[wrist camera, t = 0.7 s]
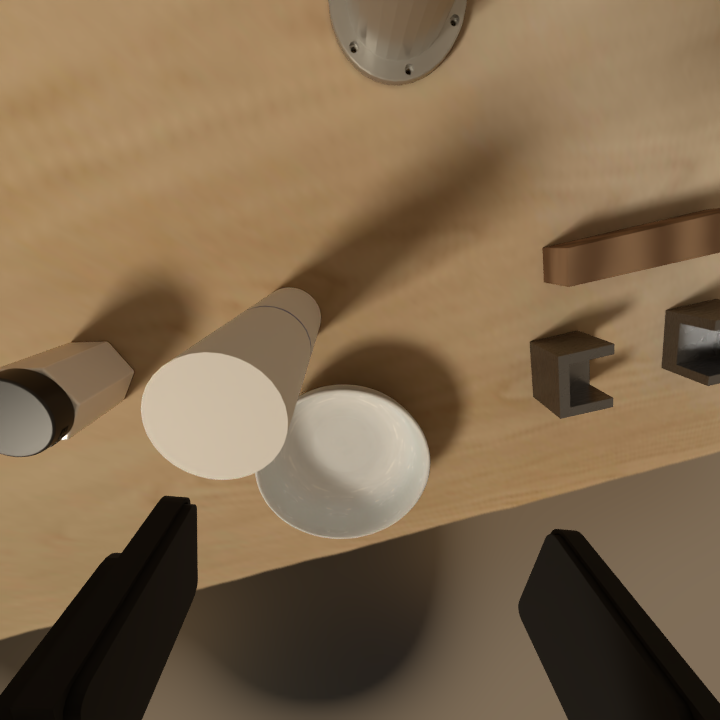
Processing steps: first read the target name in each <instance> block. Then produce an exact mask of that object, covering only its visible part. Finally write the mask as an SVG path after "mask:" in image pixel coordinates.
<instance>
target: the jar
mask: <svg viewBox="0 0 720 720" xmlns="http://www.w3.org/2000/svg"><path fill="white" fill-rule="evenodd" d="M133 374H134V370H133V369H132V368H131V367H130V366H129V365H128V363H127V362H126V361H125V360H124V359H123V358H122V357H121V356H120V355H119V353H118V352H117V351H116V350H115V349H114V348H113V347H112V346H111V345H110V343H109V342H72V343H67V344H64V345H61V346H58V347H56V348H53V349H50V350H47V351H44V352H42V353H39V354H36V355H33V356H30V357H28V358H25V359H22V360H19V361H16V362H14V363H11V364H8V365H5V366H2V367H0V454H3V455H7V456H13V457H27V456H32V455H36V454H38V453H41V452H43V451H44V450H46V449H47V448H49V447H52V446H53V445H55V444H56V443H57V442H59V441H60V440H68V439H70V438H71V437H73V436H74V435H75V434H77V433H78V432H80V431H81V430H82V429H84V428H85V427H87V426H88V425H90V424H91V423H92V422H94V421H95V420H97V419H98V418H99V417H101V416H102V415H104V414H105V413H107V412H108V411H109V410H111V409H112V408H114V407H115V406H116V405H118V404H119V403H121V402H122V401H123V400H124V399H125V396H126V393H127V390H128V388H129V385H130V382H131V380H132V377H133Z"/></svg>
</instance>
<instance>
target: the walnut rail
mask: <svg viewBox="0 0 720 720" xmlns="http://www.w3.org/2000/svg"><path fill="white" fill-rule="evenodd" d="M719 252H720V208H718V209H708V210H703V211H699V212H695V213H690V214H686V215H682V216H678V217H673V218H669V219H665V220H660V221H656V222H652V223H648V224H643V225H639V226H635V227H630V228H626V229H622V230H617V231H613V232H609V233H605V234H600V235H596V236H592V237H587V238H583V239H579V240H574V241H570V242H566V243H562V244H557V245H553V246H549V247H544V248H543V270H544V282H546V283H551V284H556V285H562V286H567V287H570V286H575V285H579V284H583V283H588V282H592V281H597V280H601V279H605V278H610V277H614V276H619V275H623V274H627V273H632V272H636V271H640V270H645V269H649V268H654V267H658V266H662V265H667V264H671V263H675V262H680V261H684V260H689V259H693V258H697V257H702V256H706V255H711V254H715V253H719Z"/></svg>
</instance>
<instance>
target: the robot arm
mask: <svg viewBox="0 0 720 720" xmlns="http://www.w3.org/2000/svg"><path fill="white" fill-rule="evenodd" d="M328 1H329V13H330V18H331V23H332V28H333V31H334V33H335V36H336V39H337V42H338V44H339V46H340V47H341V49H342V51H343V53H344V55H345V56H346V57H347V59H348V60H349V61H350V62H351V64H352V65H353V66H354V67H355V68H356V69H357V70H359V71H360V72H361V73H362V74H363V75H365V76H366V77H368V78H370V79H372V80H374V81H376V82H379V83H383V84H387V85H404V84H409V83H413V82H415V81H417V80H420V79H422V78H424V77H425V76H427V75H428V74H429V73H431V72H432V71H434V70H435V69H436V68H437V67H438V66H439V64H440V63H441V62H442V61H443V60H444V59H445V57H446V56H447V54H448V53H449V51H450V50H451V48H452V46H453V44H454V42H455V40H456V39H457V37H458V34H459V32H460V29H461V27H462V24H463V20H464V15H465V10H466V5H467V0H328ZM451 23H453V24H454V26H452V25H451ZM353 49H355V50H356V53H352V52H351V51H352V50H353ZM406 71H409V72H410V75H407V74H406ZM197 582H198V570H197V506H196V505H193V504H190V499H189V498H186V497H174V496H164V497H162V498H161V499H160V501H159V502H158V503H157V505H156V506H155V508H154V509H153V510H152V512H151V513H150V514H149V516H148V517H147V519H146V520H145V521H144V523H143V524H142V526H141V527H140V528H139V530H138V531H137V532H136V534H135V535H134V537H133V538H132V539H131V541H130V542H129V544H128V545H127V546H126V548H125V549H124V550H123V552H122V553H112V554H111V555H109V556H108V557H106V558H105V559H104V561H103V562H102V563H101V564H100V565H99V566H98V568H97V569H96V570H95V572H94V573H93V574H92V576H91V577H90V578H89V580H88V581H87V582H86V584H85V585H84V586H83V587H82V589H81V590H80V591H79V593H78V594H77V595H76V597H75V598H74V599H73V601H72V602H71V603H70V604H69V606H68V607H67V608H66V610H65V611H64V612H63V614H62V615H61V616H60V618H59V619H58V620H57V621H56V623H55V624H54V625H53V627H52V628H51V629H50V631H49V632H48V633H47V635H46V636H45V637H44V639H43V640H42V641H41V642H40V644H39V645H38V646H37V648H36V649H35V650H34V652H33V653H32V654H31V656H30V657H29V658H28V660H27V661H26V662H25V663H24V665H23V666H22V667H21V669H20V670H19V671H18V673H17V674H16V675H15V677H14V678H13V679H12V680H11V682H10V683H9V684H8V686H7V687H6V688H5V690H4V691H3V692H2V694H1V695H0V720H142V718H143V715H144V713H145V711H146V709H147V706H148V704H149V701H150V699H151V697H152V694H153V692H154V690H155V687H156V685H157V683H158V680H159V678H160V676H161V673H162V671H163V668H164V666H165V664H166V662H167V659H168V657H169V655H170V652H171V650H172V648H173V645H174V643H175V641H176V638H177V636H178V634H179V631H180V629H181V627H182V624H183V622H184V619H185V617H186V615H187V612H188V610H189V608H190V606H191V603H192V601H193V598H194V596H195V592H196V588H197ZM518 608H519V614H520V617H521V620H522V622H523V624H524V626H525V628H526V631H527V633H528V635H529V637H530V639H531V641H532V643H533V645H534V648H535V650H536V652H537V654H538V656H539V658H540V660H541V663H542V665H543V667H544V669H545V671H546V673H547V675H548V677H549V680H550V682H551V683H552V686H553V688H554V690H555V692H556V695H557V696H558V699H559V701H560V703H561V705H562V707H563V709H564V712H565V713H566V716H567V718H568V720H720V703H719V702H718V701H717V699H716V698H715V697H714V696H713V695H712V693H711V692H710V691H709V690H708V688H707V687H706V686H705V685H704V683H703V682H702V681H701V680H700V679H699V677H698V676H697V675H696V674H695V672H694V671H693V670H692V669H691V668H690V666H689V665H688V664H687V663H686V661H685V660H684V659H683V658H682V657H681V655H680V654H679V653H678V652H677V650H676V649H675V648H674V647H673V646H672V644H671V643H670V642H669V641H668V639H667V638H666V637H665V636H664V634H663V633H662V632H661V631H660V629H659V628H658V627H657V626H656V625H655V623H654V622H653V621H652V620H651V618H650V617H649V616H648V615H647V614H646V612H645V611H644V610H643V609H642V608H641V606H640V605H639V604H638V603H637V601H636V600H635V599H634V598H633V596H632V595H631V594H630V593H629V592H628V590H627V589H626V588H625V587H624V586H623V584H622V583H621V582H620V580H619V579H618V578H617V577H616V575H614V573H613V572H612V571H611V569H610V568H609V567H608V566H607V564H606V563H605V562H604V561H603V560H602V558H601V557H600V556H599V555H598V553H597V552H596V551H595V550H594V548H593V547H592V546H591V545H590V544H589V542H588V541H587V540H586V539H585V537H584V536H583V535H582V534H581V533H580V532H578V531H572V530H561V529H554V530H553V531H552V532H551V534H549V535H547V537H546V538H545V541H544V543H543V545H542V548H541V550H540V553H539V555H538V557H537V560H536V562H535V565H534V568H533V569H532V572H531V574H530V577H529V580H528V582H527V584H526V586H525V589H524V591H523V593H522V596H521V598H520V601H519V605H518Z"/></svg>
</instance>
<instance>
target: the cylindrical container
mask: <svg viewBox="0 0 720 720" xmlns="http://www.w3.org/2000/svg"><path fill="white" fill-rule="evenodd" d="M320 324H321V313H320V309H319V306H318V304H317V303H316V301H315V300H314V299H313V297H312V296H311V295H309V294H308V293H307V292H305V291H303V290H301V289H297V288H291V287H288V288H281V289H278V290H276V291H275V292H273V293H271V294H270V295H268V296H267V297H265V298H264V299H262V300H261V301H259V302H258V303H256V304H255V305H253V306H252V307H250V308H249V309H247V310H246V311H244V312H243V313H241V314H240V315H238V316H237V317H235V318H234V319H232V320H231V321H229V322H228V323H226V324H225V325H223V326H222V327H220V328H219V329H217V330H216V331H214V332H213V333H211V334H210V335H208V336H207V337H205V338H204V339H202V340H201V341H199V342H198V343H196V344H195V345H193V346H192V347H190V348H189V349H187V350H186V351H184V352H183V353H181V354H180V355H178V356H177V357H175V358H174V359H172V360H171V361H169V362H168V363H166V364H165V365H163V366H162V367H161V368H160V369H159V370H158V371H157V372H156V373H155V374H154V375H153V376H152V377H151V379H150V380H149V382H148V384H147V385H146V388H145V390H144V393H143V396H142V404H141V414H142V422H143V425H144V428H145V430H146V433H147V435H148V437H149V439H150V440H151V442H152V444H153V445H154V447H155V448H156V449H157V450H158V451H159V452H160V453H161V455H162V456H163V457H164V458H166V459H167V460H168V461H170V462H171V463H172V464H173V465H175V466H177V467H178V468H180V469H182V470H184V471H186V472H188V473H191V474H193V475H196V476H199V477H204V478H209V479H219V480H228V479H237V478H241V477H245V476H248V475H251V474H253V473H255V472H257V471H259V470H261V469H263V468H264V467H265V466H267V465H268V464H269V463H270V462H272V461H273V460H274V458H275V457H276V456H277V455H278V454H279V452H280V450H281V448H282V446H283V445H284V443H285V439H286V436H287V433H288V429H289V426H290V423H291V420H292V416H293V413H294V410H295V407H296V403H297V400H298V397H299V393H300V390H301V387H302V384H303V380H304V377H305V374H306V370H307V367H308V364H309V360H310V357H311V354H312V351H313V347H314V344H315V341H316V338H317V334H318V331H319V328H320Z"/></svg>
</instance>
